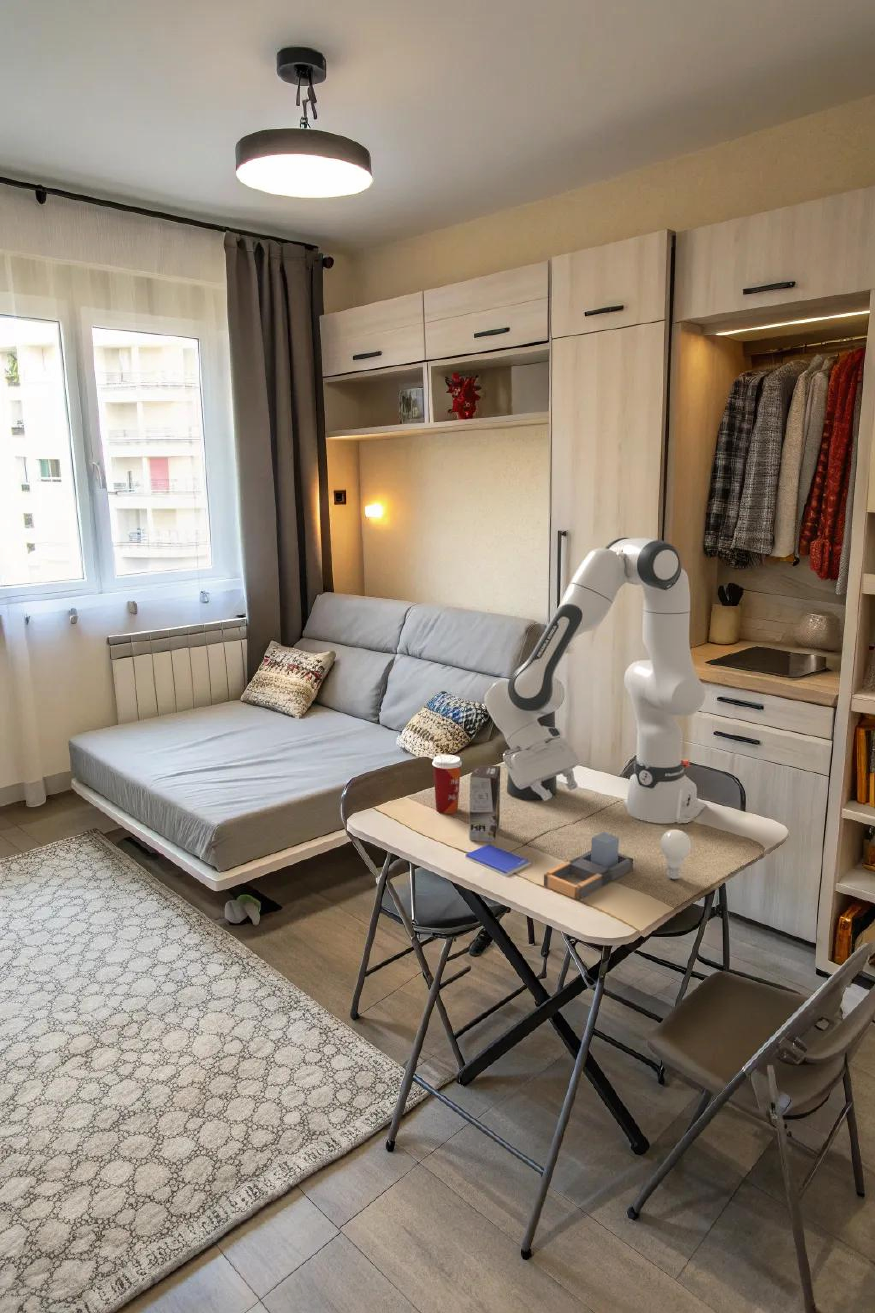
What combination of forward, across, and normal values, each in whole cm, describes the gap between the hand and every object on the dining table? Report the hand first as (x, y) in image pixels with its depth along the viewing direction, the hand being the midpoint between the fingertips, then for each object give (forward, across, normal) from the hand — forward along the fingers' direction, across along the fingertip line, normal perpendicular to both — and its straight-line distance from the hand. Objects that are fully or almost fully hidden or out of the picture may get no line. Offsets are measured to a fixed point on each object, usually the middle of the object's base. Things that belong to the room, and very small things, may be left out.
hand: (561, 793), depth 189 cm
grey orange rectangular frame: (+19, -6, +1) cm, 19 cm away
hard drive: (+6, -14, +15) cm, 21 cm away
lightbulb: (+28, +7, -8) cm, 30 cm away
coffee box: (-3, -5, +24) cm, 24 cm away
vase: (-10, +25, +31) cm, 41 cm away
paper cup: (-15, -1, +36) cm, 39 cm away
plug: (+19, 0, +2) cm, 19 cm away
